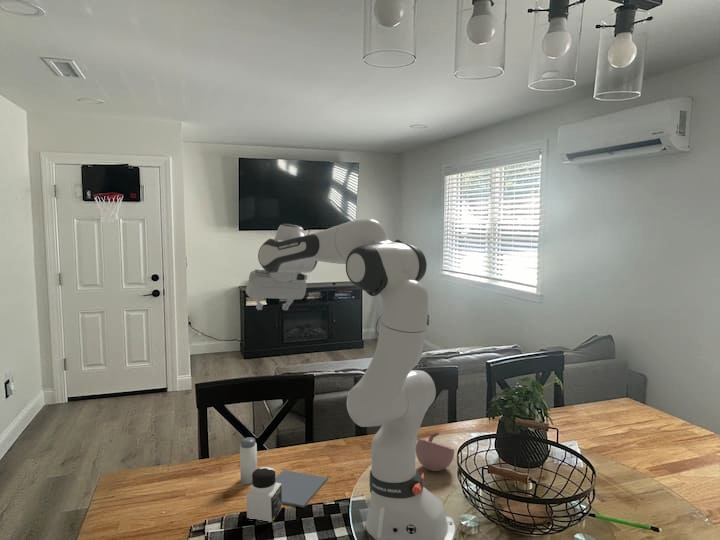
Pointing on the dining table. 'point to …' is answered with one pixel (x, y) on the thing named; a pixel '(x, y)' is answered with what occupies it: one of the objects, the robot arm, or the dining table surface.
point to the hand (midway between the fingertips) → (272, 309)
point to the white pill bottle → (248, 459)
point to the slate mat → (298, 487)
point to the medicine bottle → (264, 495)
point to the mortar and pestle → (434, 454)
